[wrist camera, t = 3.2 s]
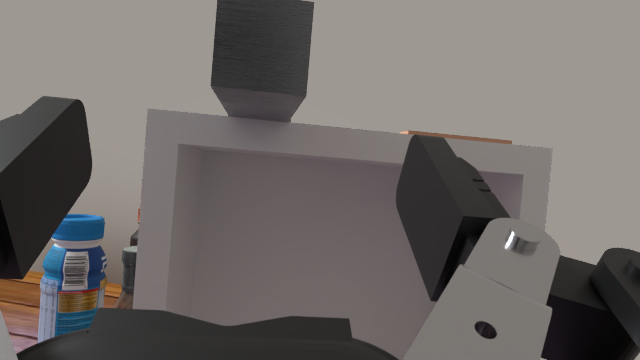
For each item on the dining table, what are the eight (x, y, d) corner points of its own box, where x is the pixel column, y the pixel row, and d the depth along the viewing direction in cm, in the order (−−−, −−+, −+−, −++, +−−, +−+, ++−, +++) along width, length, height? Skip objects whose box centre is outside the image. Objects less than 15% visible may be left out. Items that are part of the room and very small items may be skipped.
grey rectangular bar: (321, 97, 14) (332, -28, 14) (194, 84, 14) (204, -46, 14) (285, 136, 34) (289, 83, 34) (232, 131, 34) (236, 78, 34)
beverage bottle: (20, 360, 62) (30, 216, 62) (65, 338, 70) (75, 211, 70) (73, 370, 60) (84, 222, 60) (113, 347, 69) (123, 217, 68)
